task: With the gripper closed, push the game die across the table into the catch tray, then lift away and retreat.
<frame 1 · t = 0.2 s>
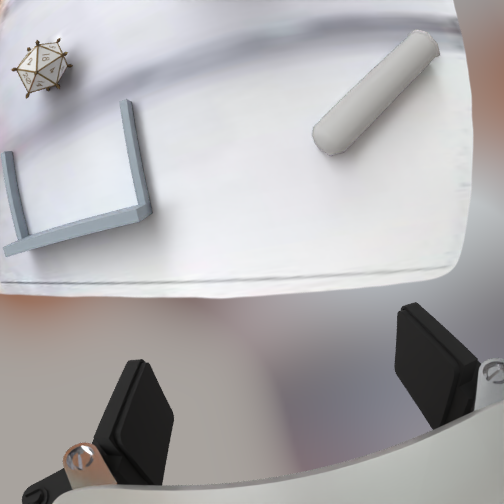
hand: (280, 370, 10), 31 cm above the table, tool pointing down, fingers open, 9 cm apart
catch tray: (69, 178, 37), on the table
tube: (371, 91, 36), on the table
game die: (56, 72, 32), on the table
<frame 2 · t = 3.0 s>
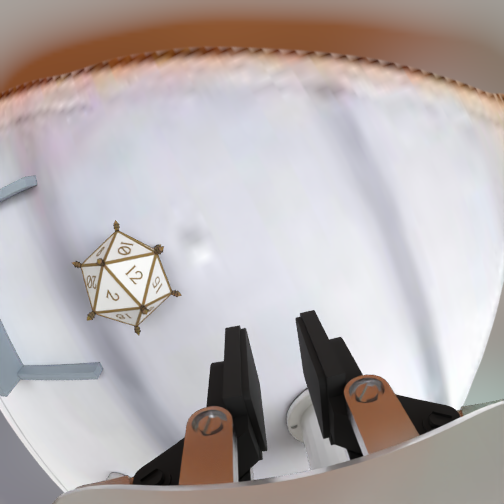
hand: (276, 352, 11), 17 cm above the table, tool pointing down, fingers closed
catch tray: (18, 290, 28), on the table
game die: (139, 263, 28), on the table
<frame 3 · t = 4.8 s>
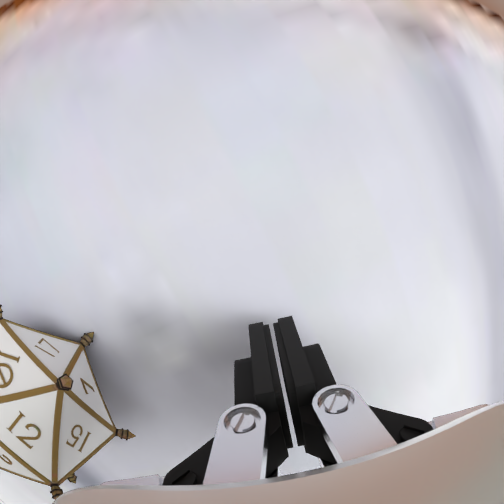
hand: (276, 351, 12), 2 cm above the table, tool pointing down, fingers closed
game die: (66, 356, 13), on the table
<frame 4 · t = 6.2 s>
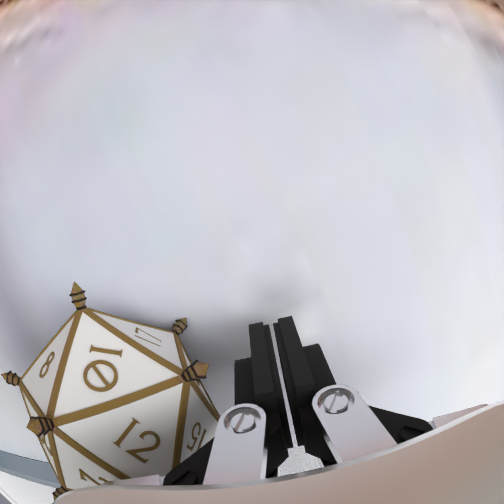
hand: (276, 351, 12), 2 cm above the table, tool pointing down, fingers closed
game die: (144, 351, 13), on the table, touching gripper
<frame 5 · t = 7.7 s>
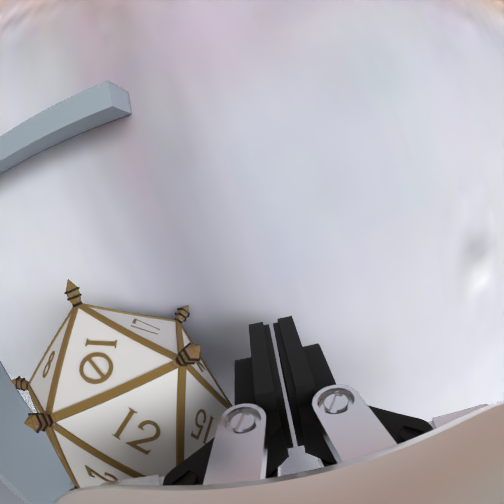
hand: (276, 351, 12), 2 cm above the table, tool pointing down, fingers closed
catch tray: (66, 363, 14), on the table
game die: (152, 344, 14), on the table, touching gripper
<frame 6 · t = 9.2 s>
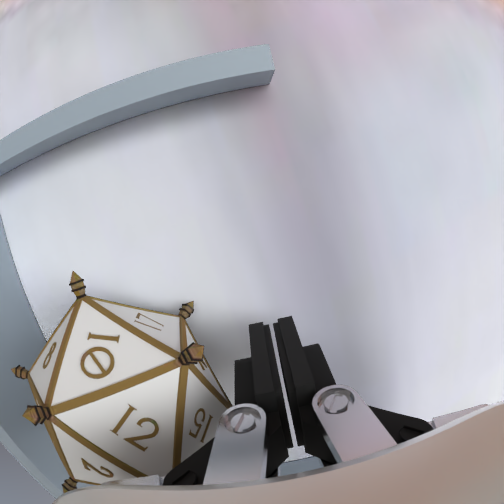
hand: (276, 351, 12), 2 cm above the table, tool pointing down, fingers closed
catch tray: (152, 355, 14), on the table
game die: (154, 338, 14), on the table, touching gripper
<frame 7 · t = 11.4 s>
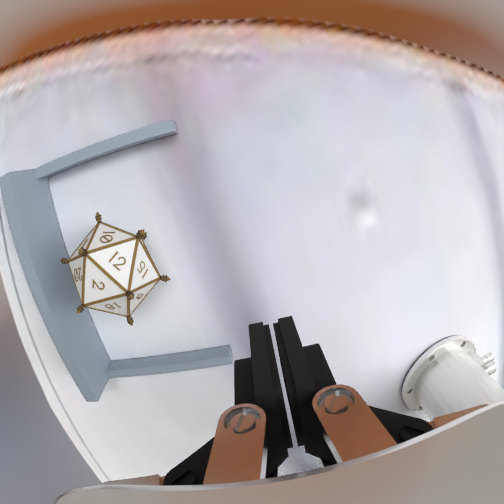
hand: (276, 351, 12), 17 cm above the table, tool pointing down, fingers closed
catch tray: (126, 264, 28), on the table
game die: (128, 254, 28), on the table
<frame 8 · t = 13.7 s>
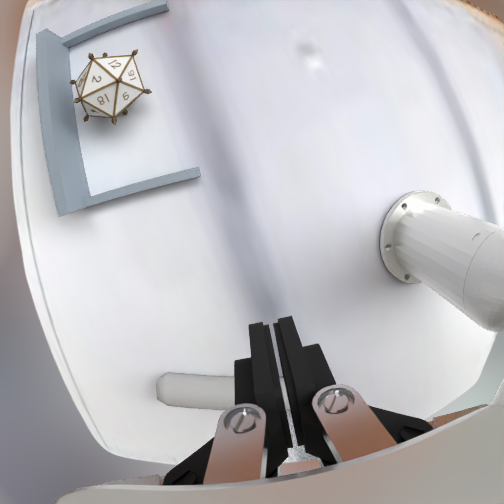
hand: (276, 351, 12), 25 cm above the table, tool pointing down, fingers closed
catch tray: (119, 100, 30), on the table
tube: (243, 382, 43), on the table
game die: (121, 93, 30), on the table
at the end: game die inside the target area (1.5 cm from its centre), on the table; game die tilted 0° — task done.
